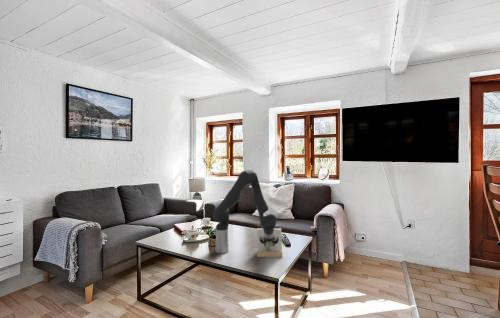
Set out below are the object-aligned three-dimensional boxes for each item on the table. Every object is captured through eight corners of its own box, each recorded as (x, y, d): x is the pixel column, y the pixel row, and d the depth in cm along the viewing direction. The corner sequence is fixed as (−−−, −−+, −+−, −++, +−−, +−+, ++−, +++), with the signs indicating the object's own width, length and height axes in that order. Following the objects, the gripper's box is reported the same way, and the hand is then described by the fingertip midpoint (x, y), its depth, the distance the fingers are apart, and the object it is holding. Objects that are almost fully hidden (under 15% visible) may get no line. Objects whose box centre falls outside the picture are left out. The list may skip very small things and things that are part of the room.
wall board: (256, 256, 180) (256, 231, 180) (257, 252, 188) (257, 228, 188) (282, 257, 178) (281, 231, 178) (281, 252, 186) (281, 228, 186)
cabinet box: (266, 253, 182) (265, 238, 182) (266, 252, 185) (265, 237, 185) (273, 253, 181) (272, 238, 181) (273, 252, 184) (272, 237, 184)
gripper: (279, 228, 175) (279, 240, 187) (258, 228, 176) (259, 240, 188) (279, 238, 170) (279, 250, 182) (258, 238, 171) (259, 249, 183)
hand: (269, 245), depth 185 cm, fingers closed on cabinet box, 5 cm apart
